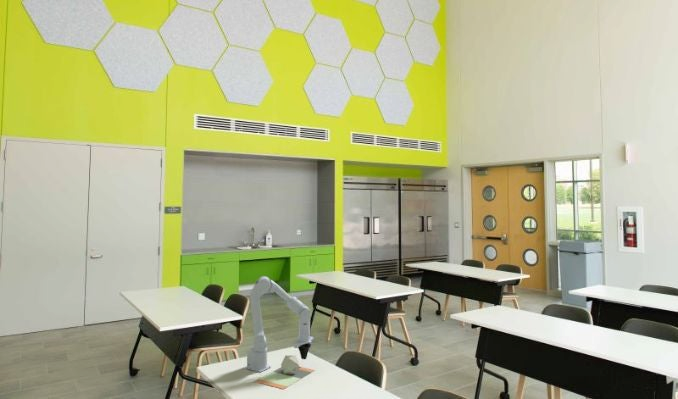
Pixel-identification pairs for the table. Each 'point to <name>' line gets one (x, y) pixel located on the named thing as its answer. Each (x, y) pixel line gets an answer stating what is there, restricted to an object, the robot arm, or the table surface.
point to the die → (290, 364)
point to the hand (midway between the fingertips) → (303, 358)
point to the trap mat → (283, 377)
